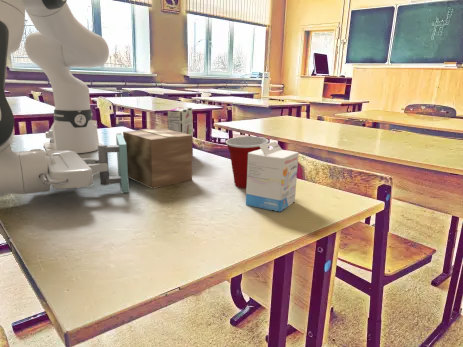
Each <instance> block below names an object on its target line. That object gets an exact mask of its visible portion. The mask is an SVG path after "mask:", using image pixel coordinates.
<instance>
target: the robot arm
mask: <svg viewBox="0 0 463 347" xmlns="http://www.w3.org/2000/svg"><path fill="white" fill-rule="evenodd" d="M26 14H27V15H28V17H29V18H30V21H31V23H32V24H33V26H34V28H35V29H36V30H37V32H32V33H31V32H30V33H28V35H27V37H26V38H25V42H24V50H25V53H26V56H27V57H28V59H30V61H31V62H32V63H34V64H35V65H36V66H38V67H39V68H40V69H41V70H42V71H43V73H44V74H45V75H46V77H47V78H48V80H49V83H50V85H51V90H52V93H53V94H52V95H53V101H54V108H55V109H54V110H53V122H52V124H51V126H50V128H49V130H48V131H45V132H44V134H45V139H49V141H48V142H43V147H44V149H40V148H35V149H34V148H33V149H30V150H25V151H13V150H12V145H13V141H14V137H15V136H14V128H15V116H14V113H13V109H12V108H11V106H10V104H9V102H8V100H7V97H6V91H5V88H6V87H5V86H6V76H7V74H6V73H7V64H8V62H7V61H8V57H9V55H11V54H13V53H16V51H18V50H19V48H20V47H21V46H20V45H21V43H22V40H23V36H24V31H25V25H26V24H25V23H26V22H25V21H26ZM109 56H110V49H109V45H108V43H107V41H106V40H105V38H103V36H102V35H100V34H97V33H95V32H93V31H92V30H90V29H89V28H87V27H85V26H84V25H83V24H82V23H80V22H79V20H77V18H76V17H75V16H74V14H73V13H72V10H71V9H70V7H69V4H68V3H67V0H0V198H1V197H5V196H8V195H27V194H28V195H30V194H36V193H44V192H49V191H50V186H51V187H52V188H53V189H56V190H67V189H68V190H69V189H76V188H77V189H78V188H79V189H80V188H88V187H91V186H92V185H94V175H97V174H100V172H104V171H108V168H109V163H108V164H107V163H105V162H101V163H99V158H88V157H87V158H86V157H85V158H82V157H81V156H80V155H79V154H84V153H91V152H95V151H98V145H103V143H100V140H99V135H98V134H99V133H98V126H97V124H96V123H94V122H93V112H92V111H93V109H91V100H90V89H89V87H88V85H87V84H86V83H85V82H84V81H83V80H81V79H79V78H77V77H76V76H74V75H73V73H72V72H71V70H70V68H89V69H90V68H95V67H102V66H104V65H105V64H106V63H107V61H108V59H109Z"/></svg>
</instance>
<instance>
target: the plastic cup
mask: <svg viewBox="0 0 463 347" xmlns="http://www.w3.org/2000/svg"><path fill="white" fill-rule="evenodd" d="M268 143H270V142H269V139H268V138H266V137H262V136H252V135H251V136H249V135H247V136H236V137H232V138H228V139H227V140H225V144H226V146H227V147H228V151H229V155H230V162H231V163H230V164H231V168H232V175H233V182H234V186H236V187H237V188H241V189H246V187H247V166H248V153H249V152H252V151H256V150H259V149H261V148H260V145H264V144H268Z"/></svg>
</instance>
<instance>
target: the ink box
mask: <svg viewBox="0 0 463 347" xmlns="http://www.w3.org/2000/svg"><path fill="white" fill-rule="evenodd" d="M269 147H272V148H269ZM260 148H261V149H259V150H256V151H252V152H249V153H248V166H247V187H246V188H245V189H246V190H245V205H246V206H251V207H254V208H260V209H263V210H269V211H272V210H274V211H273V212H277V211H279V212H278V213H281V212H283V211H284V210H286V207H287V208H288V207H290V206H291V205H292V204H294V203H295V201H296V192H297V180H298V179H297V178H298V176H297V175H298V167H299V155H300V154H299V153H300V152H298V151H292V150H285V149H283V148H281V146H280V145H279V143H277V141H272V142H268V144H264V145H260ZM293 202H294V203H293ZM283 209H284V210H283ZM280 211H281V212H280Z"/></svg>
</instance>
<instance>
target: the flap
mask: <svg viewBox="0 0 463 347" xmlns="http://www.w3.org/2000/svg"><path fill="white" fill-rule="evenodd" d="M115 139H116V140H115V141H116V144H115V145H113V144H112V145H107V144H102V145H98V149H97V155H98V156H97V157H98V159H99V163H101V162H105V163H107V164H108V165H109V154H108V153H116V154H117V155H116V156H117V158H116V159H117V160H116V161H117V174H118V175H117V176H116V175H114V176H111V175H110V173H109V172H110V170H109V167H108V171H104V172H99V182H100V184H99V185H101V186H108V185H113V184H114V185H115V184H119V186H120V190H121V193H129V192H130V191H129V190H130V189H129V177H128V168H127V146H126V142H125V140H124V137H123V133H121V132H120V133H117V132H116V134H115Z"/></svg>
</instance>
